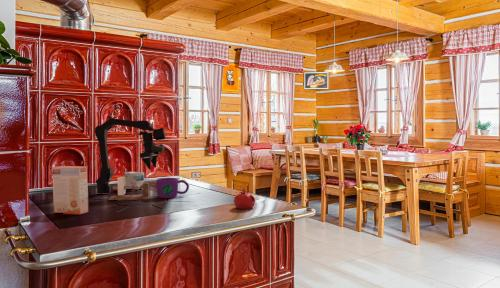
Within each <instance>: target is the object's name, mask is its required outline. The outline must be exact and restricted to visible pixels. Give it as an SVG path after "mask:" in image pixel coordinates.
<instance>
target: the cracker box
mask: <svg viewBox="0 0 500 288" xmlns="http://www.w3.org/2000/svg"><path fill="white" fill-rule="evenodd" d="M51 169H52V170H51V171H52V188H53V189H52V199H53V203H52V204H53V214H54V213H63V214H62V215H82V214H86V213H89V190H88V188H89V187H88V166H86V165H85V166H83V165H82V166H80V165H79V166H78V165H77V166H76V165H65V166H64V165H62V166H61V165H60V166H53V167H52V168H51Z"/></svg>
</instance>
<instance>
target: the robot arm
mask: <svg viewBox="0 0 500 288" xmlns="http://www.w3.org/2000/svg"><path fill="white" fill-rule="evenodd" d="M114 126H121V127H122V126H123V127H129V128H130V127H132V128H135V129H138V130H140V132H138V136H141V137H142V138H141V139H142V143H143V144H142V147H143V149H144V151H143V152H140V154H139V158H140V159H141V161H142V162H143V163H144V165H146V168H147V169H148V170H151V169H152V166H153V168H157V162H158V158H159V156H160V154H161V153H164V152H165V149H166V148H165V145H164V144H162V143H161V144H159V145H156V143H155V142H154V140H155V141H156V142H157V141H162V140H167V135H166V131H165V128H164V127H161V128H155V127H153V125H152V122H150V121H149V120H145V119H144V120H129V119H122V118H121V119H120V118H115V117H110V118H108V120H106V121H105V122H104V123H101V124H100V125H97V126H95V127H94V129H93V130H94V134H95V137H96V140H97V142H98V149H99V156H100V157H99V158H100V170H99V177H98V178H97V179H96V180H95V183H96V192H97V193H101V194H102V193H110V194H111V192H112V191H111V185H110V182H111V180H112V179H113V177H114V175H115V173H114V167H111V164H110V159H109V152H108V151H109V150H108V137H109V136H108V135H109V131H110V130H111V129H113V127H114ZM97 193H96V194H97Z"/></svg>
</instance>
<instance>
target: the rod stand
mask: <svg viewBox="0 0 500 288" xmlns="http://www.w3.org/2000/svg"><path fill="white" fill-rule="evenodd" d="M138 188H142V190H141V191H142V194H124V195H111V196H110V197H109V198H108V201H109V200H118V201H134V200H149V199H150V196H151V195H150V182H148V181H146V182H145V181H144V183H143V184H142V185H138V186H135V185H132V186H124V189H138ZM112 190H118V185H117V186H116V185H115V186H114V185H113V186H112Z"/></svg>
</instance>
